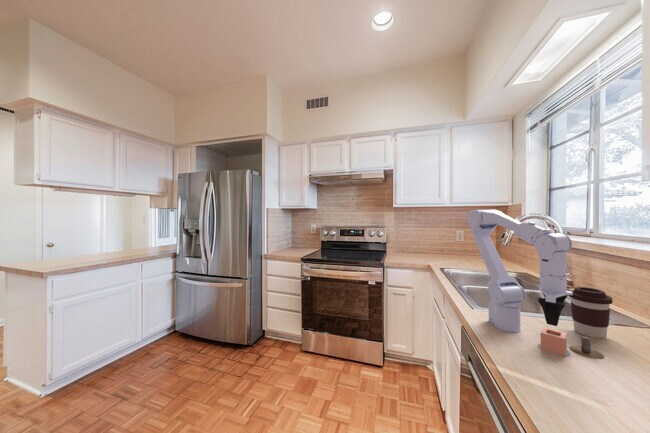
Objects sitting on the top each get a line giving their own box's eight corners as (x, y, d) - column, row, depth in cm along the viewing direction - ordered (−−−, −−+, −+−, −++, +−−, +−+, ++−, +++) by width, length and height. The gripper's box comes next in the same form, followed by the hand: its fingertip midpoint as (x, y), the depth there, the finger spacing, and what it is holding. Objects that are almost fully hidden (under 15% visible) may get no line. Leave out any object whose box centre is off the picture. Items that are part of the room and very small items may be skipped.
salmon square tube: (540, 349, 72) (540, 332, 72) (542, 343, 75) (542, 326, 75) (565, 357, 68) (565, 339, 68) (566, 349, 71) (566, 332, 71)
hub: (562, 348, 74) (561, 332, 74) (584, 347, 74) (584, 331, 74) (587, 362, 67) (587, 344, 67) (612, 361, 67) (612, 344, 67)
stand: (531, 346, 75) (531, 330, 75) (554, 345, 75) (553, 330, 75) (553, 359, 68) (553, 342, 68) (577, 359, 68) (577, 342, 68)
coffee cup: (598, 344, 75) (597, 295, 75) (561, 329, 85) (560, 286, 85) (621, 340, 78) (620, 293, 77) (582, 326, 87) (582, 284, 87)
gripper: (571, 282, 63) (571, 333, 64) (573, 272, 73) (573, 317, 73) (535, 277, 69) (536, 325, 69) (542, 268, 78) (542, 310, 79)
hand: (553, 320), depth 71 cm, fingers open, 7 cm apart
